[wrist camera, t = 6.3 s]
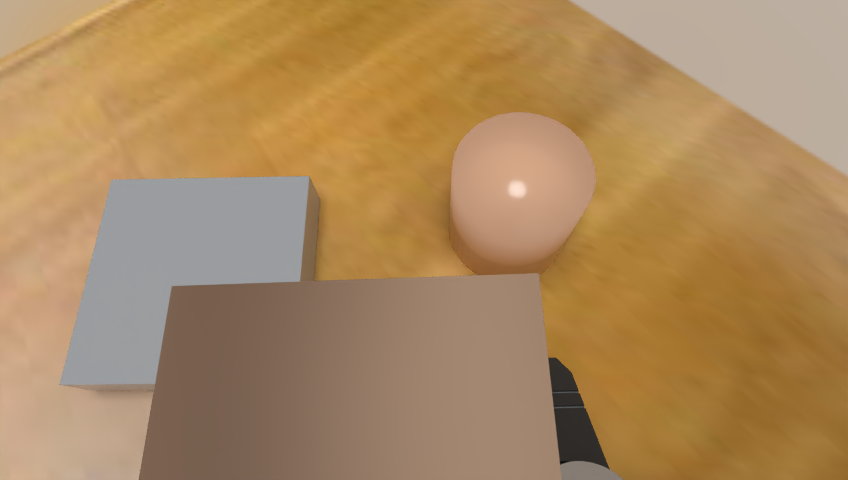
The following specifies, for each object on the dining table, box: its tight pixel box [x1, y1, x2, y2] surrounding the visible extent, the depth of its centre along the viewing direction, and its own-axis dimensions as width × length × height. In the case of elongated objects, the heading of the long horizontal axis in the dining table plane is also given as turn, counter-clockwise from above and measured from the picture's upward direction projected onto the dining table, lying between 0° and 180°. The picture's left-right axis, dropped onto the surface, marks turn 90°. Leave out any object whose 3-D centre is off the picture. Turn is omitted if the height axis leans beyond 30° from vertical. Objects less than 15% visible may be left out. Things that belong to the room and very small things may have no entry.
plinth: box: [60, 176, 320, 391], centre depth 25 cm, size 10×10×3 cm
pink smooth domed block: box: [449, 112, 596, 275], centre depth 24 cm, size 6×6×6 cm
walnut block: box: [139, 273, 562, 480], centre depth 10 cm, size 4×4×10 cm
